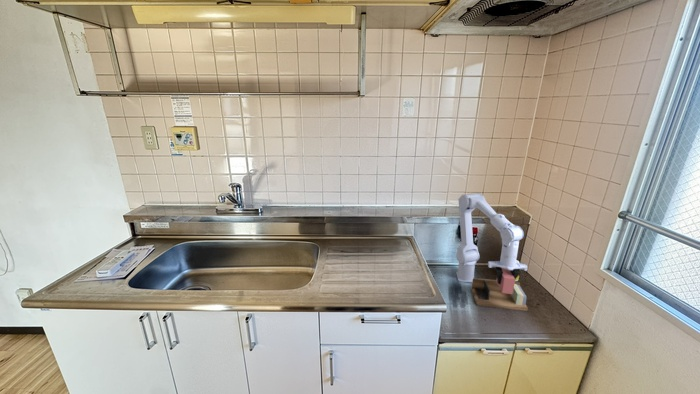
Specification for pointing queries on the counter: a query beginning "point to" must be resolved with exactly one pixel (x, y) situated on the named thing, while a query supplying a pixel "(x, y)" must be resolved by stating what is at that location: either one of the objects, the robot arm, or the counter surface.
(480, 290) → the bookend
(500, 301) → the shelf
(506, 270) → the tall pink block
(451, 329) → the counter surface
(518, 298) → the books
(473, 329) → the counter surface
